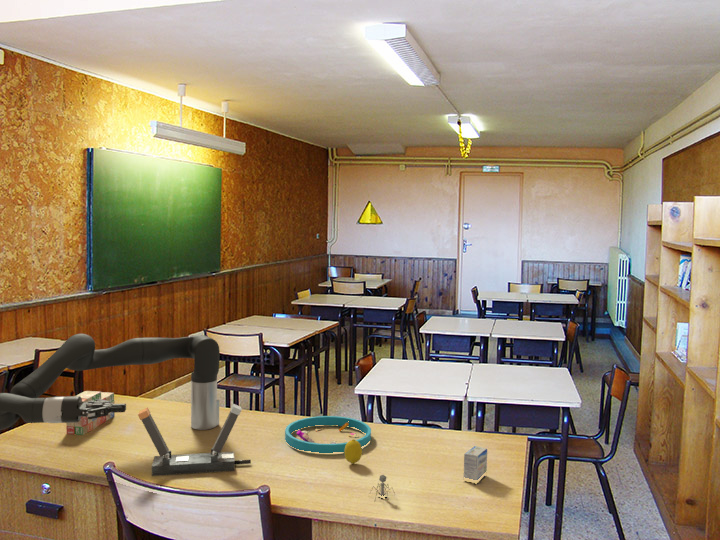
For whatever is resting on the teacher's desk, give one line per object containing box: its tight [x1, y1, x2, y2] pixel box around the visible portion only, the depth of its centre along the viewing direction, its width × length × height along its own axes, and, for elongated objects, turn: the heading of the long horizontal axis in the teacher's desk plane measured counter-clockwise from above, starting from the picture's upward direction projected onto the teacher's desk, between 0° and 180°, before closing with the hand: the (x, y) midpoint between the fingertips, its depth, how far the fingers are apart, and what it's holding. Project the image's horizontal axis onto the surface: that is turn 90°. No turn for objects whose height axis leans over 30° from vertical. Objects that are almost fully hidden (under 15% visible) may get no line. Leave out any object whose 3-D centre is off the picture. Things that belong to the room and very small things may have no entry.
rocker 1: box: [137, 407, 170, 458], centre depth 189 cm, size 3×4×17 cm, turn 12°
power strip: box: [151, 447, 252, 477], centre depth 192 cm, size 29×8×5 cm, turn 102°
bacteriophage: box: [369, 474, 396, 501], centre depth 175 cm, size 7×8×7 cm
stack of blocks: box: [65, 390, 116, 436], centre depth 229 cm, size 21×6×12 cm, turn 172°
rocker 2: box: [212, 403, 243, 455], centre depth 193 cm, size 3×4×17 cm, turn 13°
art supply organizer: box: [284, 415, 372, 453], centre depth 220 cm, size 30×30×6 cm
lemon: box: [343, 438, 363, 464], centre depth 198 cm, size 6×6×8 cm
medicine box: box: [463, 445, 488, 480], centre depth 189 cm, size 8×4×9 cm, turn 148°
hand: (125, 407), depth 186 cm, fingers closed
